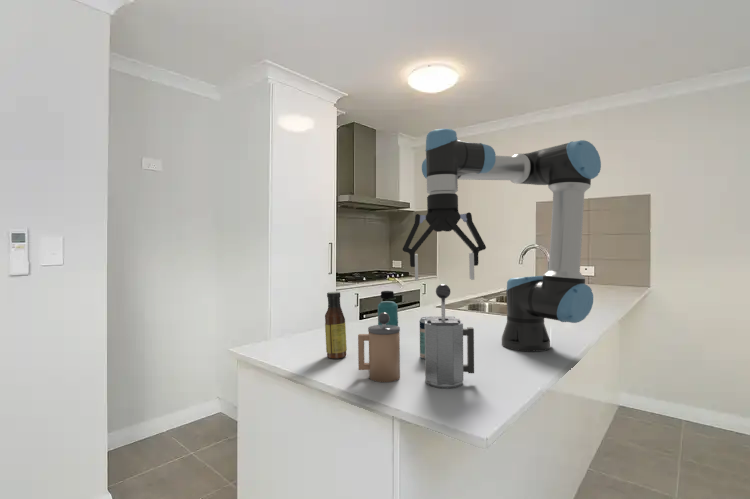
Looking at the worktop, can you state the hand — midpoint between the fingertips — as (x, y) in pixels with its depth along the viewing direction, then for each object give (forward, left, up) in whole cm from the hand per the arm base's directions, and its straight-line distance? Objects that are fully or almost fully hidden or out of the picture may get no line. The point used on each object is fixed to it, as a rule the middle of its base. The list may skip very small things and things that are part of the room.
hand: (444, 279), depth 100 cm
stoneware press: (+17, -3, -26) cm, 31 cm away
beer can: (+3, -21, -26) cm, 33 cm away
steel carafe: (-1, 0, -26) cm, 26 cm away
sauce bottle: (+31, -21, -26) cm, 46 cm away
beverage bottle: (+15, -23, -26) cm, 38 cm away
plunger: (0, 0, -21) cm, 21 cm away
